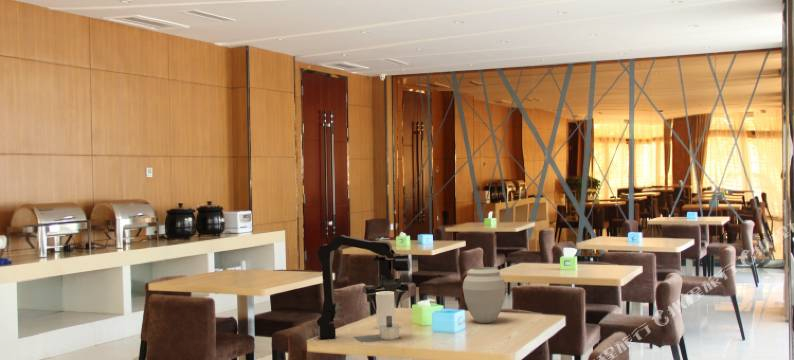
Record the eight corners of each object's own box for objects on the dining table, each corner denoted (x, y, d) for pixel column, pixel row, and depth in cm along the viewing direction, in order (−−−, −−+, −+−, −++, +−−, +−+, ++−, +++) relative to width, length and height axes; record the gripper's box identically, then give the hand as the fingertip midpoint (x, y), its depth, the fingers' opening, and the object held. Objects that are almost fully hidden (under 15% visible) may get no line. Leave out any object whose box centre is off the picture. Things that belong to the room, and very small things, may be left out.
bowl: (384, 340, 331) (383, 329, 331) (378, 337, 338) (377, 326, 338) (401, 338, 334) (401, 327, 334) (395, 335, 341) (395, 325, 341)
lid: (383, 329, 331) (383, 318, 331) (378, 326, 338) (377, 315, 338) (401, 327, 334) (400, 316, 334) (395, 325, 341) (394, 314, 341)
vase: (513, 319, 371) (511, 266, 371) (495, 326, 355) (493, 271, 355) (475, 317, 382) (473, 265, 382) (456, 324, 365) (454, 270, 365)
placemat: (362, 343, 328) (362, 342, 328) (353, 337, 341) (353, 337, 341) (402, 339, 333) (402, 338, 333) (391, 334, 347) (391, 333, 347)
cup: (393, 330, 356) (391, 293, 356) (375, 330, 357) (373, 293, 358) (397, 326, 364) (395, 291, 364) (379, 326, 366) (377, 291, 366)
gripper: (369, 274, 326) (370, 313, 326) (412, 271, 332) (414, 309, 332) (361, 272, 337) (362, 309, 337) (403, 269, 343) (404, 306, 343)
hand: (386, 309), depth 337 cm, fingers open, 9 cm apart
